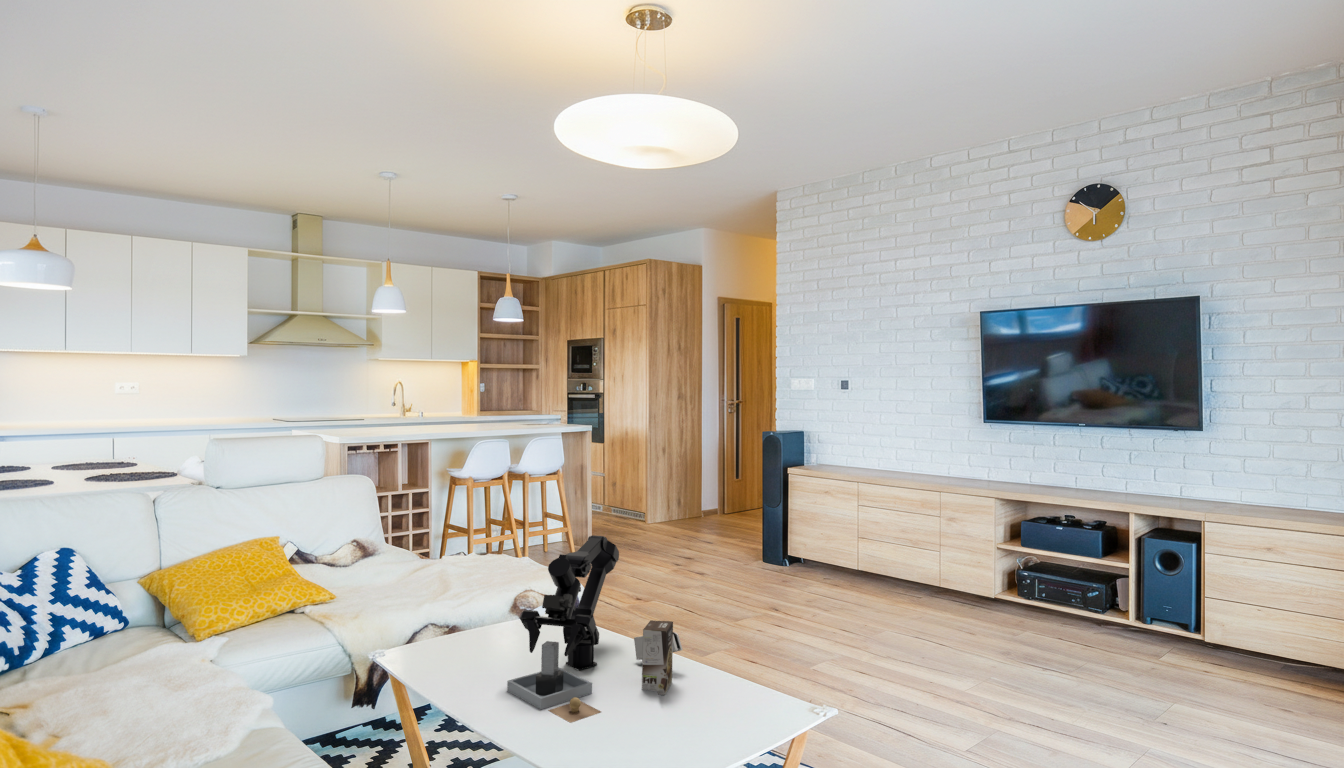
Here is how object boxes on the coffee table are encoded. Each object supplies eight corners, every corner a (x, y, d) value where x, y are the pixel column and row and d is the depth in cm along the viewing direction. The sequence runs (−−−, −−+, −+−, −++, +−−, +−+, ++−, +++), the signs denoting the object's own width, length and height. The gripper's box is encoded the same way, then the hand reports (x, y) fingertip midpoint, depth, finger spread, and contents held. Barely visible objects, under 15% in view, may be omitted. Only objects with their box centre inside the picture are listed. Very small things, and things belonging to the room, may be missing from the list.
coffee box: (665, 695, 193) (666, 631, 193) (640, 693, 194) (642, 629, 195) (673, 682, 202) (674, 620, 202) (649, 680, 203) (650, 619, 204)
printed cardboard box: (636, 674, 213) (676, 665, 204) (632, 637, 217) (671, 626, 208) (646, 673, 216) (686, 664, 207) (642, 636, 220) (681, 626, 211)
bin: (557, 680, 202) (557, 666, 202) (591, 697, 191) (592, 683, 191) (507, 694, 192) (507, 680, 192) (540, 713, 181) (541, 698, 181)
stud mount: (579, 704, 187) (579, 687, 187) (601, 716, 180) (602, 698, 180) (547, 714, 181) (548, 697, 181) (570, 727, 174) (570, 708, 174)
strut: (543, 687, 195) (544, 639, 195) (563, 689, 194) (564, 641, 194) (535, 694, 190) (536, 645, 190) (555, 697, 189) (556, 647, 189)
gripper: (523, 578, 198) (503, 634, 187) (592, 583, 194) (575, 641, 183) (535, 601, 206) (516, 656, 195) (601, 607, 201) (586, 663, 190)
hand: (547, 653), depth 190 cm, fingers open, 9 cm apart
